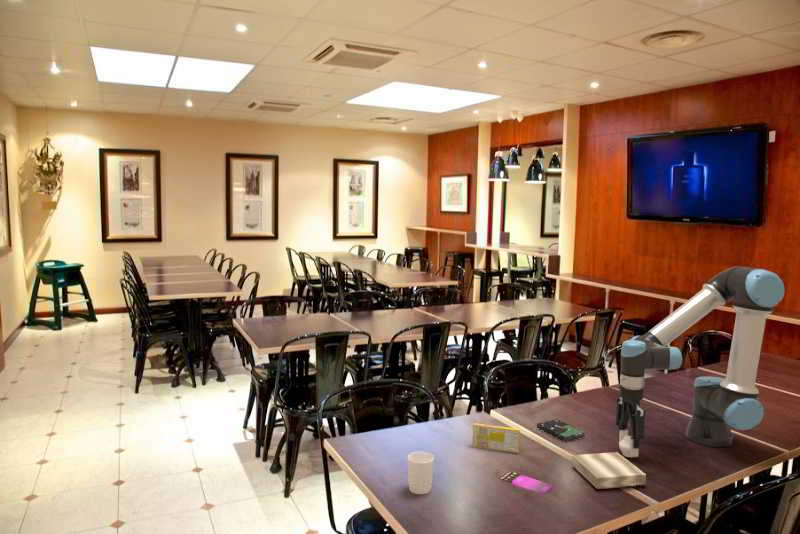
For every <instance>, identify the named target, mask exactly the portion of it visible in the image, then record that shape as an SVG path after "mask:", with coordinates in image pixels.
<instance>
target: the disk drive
mask: <svg viewBox="0 0 800 534" xmlns="http://www.w3.org/2000/svg"><path fill="white" fill-rule="evenodd" d="M537 428H539V429H540V430H543V431H544V432H546V433H548V434H550V435H552V436H554V437H557V438H558V439H560V440H562V441H564V442H566V443H568V442H567V441H570V442H572V441H571V440H574V439H578V440H580V439H579V438H582V439H584V438H583V437H586V434H585V432H584V431H583V430H581V429H580V428H577V427H574V426H572V425H570V424H568V423H565V422H563V421H561V420H559V419H552V420H545V422H538V423H536V429H537ZM540 430H539V431H540ZM544 432H543V433H544ZM546 433H545V434H546ZM548 434H547V435H548ZM550 435H549V436H550ZM552 436H551V437H552ZM554 437H553V438H554ZM558 439H557V440H558ZM560 440H559V441H560ZM562 441H561V442H562ZM574 441H575V440H574ZM564 442H563V443H564Z"/></svg>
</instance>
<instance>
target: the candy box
mask: <svg viewBox="0 0 800 534" xmlns="http://www.w3.org/2000/svg"><path fill="white" fill-rule="evenodd" d="M520 431H521V429H520V428H515V427H506V426H499V425H491V424H482V423H475V422H473V424H472V442H471V443H472V448H478V449H485V450H493V451H498V452H499V451H500V452H506V453H512V454H513V453H514V454H519V453H520Z"/></svg>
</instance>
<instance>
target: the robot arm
mask: <svg viewBox="0 0 800 534" xmlns="http://www.w3.org/2000/svg"><path fill="white" fill-rule="evenodd" d="M784 295H785V285H784V282H783V280H782V279H781V278H780V277H779V275H778V274H776V273H774V272H772V271H769V270H767V269H763V268H762V269H761V268H755V267H754V268H753V267H747V266H742V265H736V266H733V267H732V266H731V267H729V268H727V269H725V270H723V271H721V272H719V273H717V274H716V275H715V276H713V277H711V278H710V279H709V280H708V281H707V282H705V283H704V284H702V289H701V290H700V291H698V292H697V293H696V294H695V295H693V296H692V297H691V298H689V299H688V300H687V301H686V302H684V303H683V304H682V305H681V306H679V307H678V308H677V309H675V310H674V311H673V312H671V313H670V314H669V315H667V316H666V317H665V318H663V319H662V320H661V321H659V323H657V324H656V325H655V326H654V327H652V328H651V329H650V330H648V331H647V332H645V334H643V335H635V336H633V337H632V338H631V339H628V340H627V339H626V340H625V341H623V342H622V345H621V351H620V376H619V380H620V381H619V384H620V386H619V392H618V393H619V397H617V398H616V414H615V426H617V427H618V430H619V431H618V432H619V434H618V436H619V439H618V444H619V443H620V441H622V440H623V439H624V437H625V436H629V427H628V425H629V421H630V428H631V436H632V437H630V438H631V439H630V457H629V458H638V457H639V451H640V450H639V449H640V440H644V439H645V418H646V410H645V409H642V408H641V401H642V400H643V399H644V391H645V389H644V387H645V373H646V370H668V371H671V370H677V369H679V368H681V366H682V365H683V355H682V352H681V350H680V349H679V348H678V347H677V346H667V345H669V344H670V343H672V342H673V341H674V340H675V339H677V338H678V337H679V336H681V335H682V334H683V333H685V332H686V331H687V330H688V329H690V328H691V327H693V326H694V325H695V324H696V323H698V322H699V321H700V320H701V319H703V318H704V317H705V316H707V315H708V314H709V313H710V312H712V311H713V310H715V309H716V308H717V307H719V306H725V305H726V304H727V303H729V302H731V301H732V308H733V309H734V310H735V311H736V314H735V322H734V325H733V333H732V340H731V345H730V351H729V358H728V361H727V362H728V364H727V369H726V370H727V371H726V375H725V376H726V377H719V376H718V377H717V376H698V377H696V378H695V379H694V382H693V383H694V385H693V401H692V411H691V412H692V414H691V418H690V419H689V422H688V425H687V426H686V429H685V437H686V438H687V439H688V440H689V441H692V442H694V443H697V444H699V445H703V446H707V447H714V448H725V447H730V446H732V445H733V434H732V430H731V428H733V429H736V430H738V431H739V430H740V431H748V430H751V429H753V428H754V427H756V426H758V425H759V424H760V422H761V421H762V420H763V417H764V412H765V411H764V407H763V405H762V403H761V402H760V401H758V398H759V394H760V391H759V389H758V388H757V387H756V381H757V374H758V367H759V361H760V356H761V355H760V354H761V349H762V344H763V338H764V333H765V328H766V320H767V317H768V316H769V315H770V314H772V313H773V310H774V307H775V306H777V305H778V304H779V303H780V302H781V301H782V300H783V298H784ZM618 449H620V446H619V445H618ZM620 450H621V449H620Z"/></svg>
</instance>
